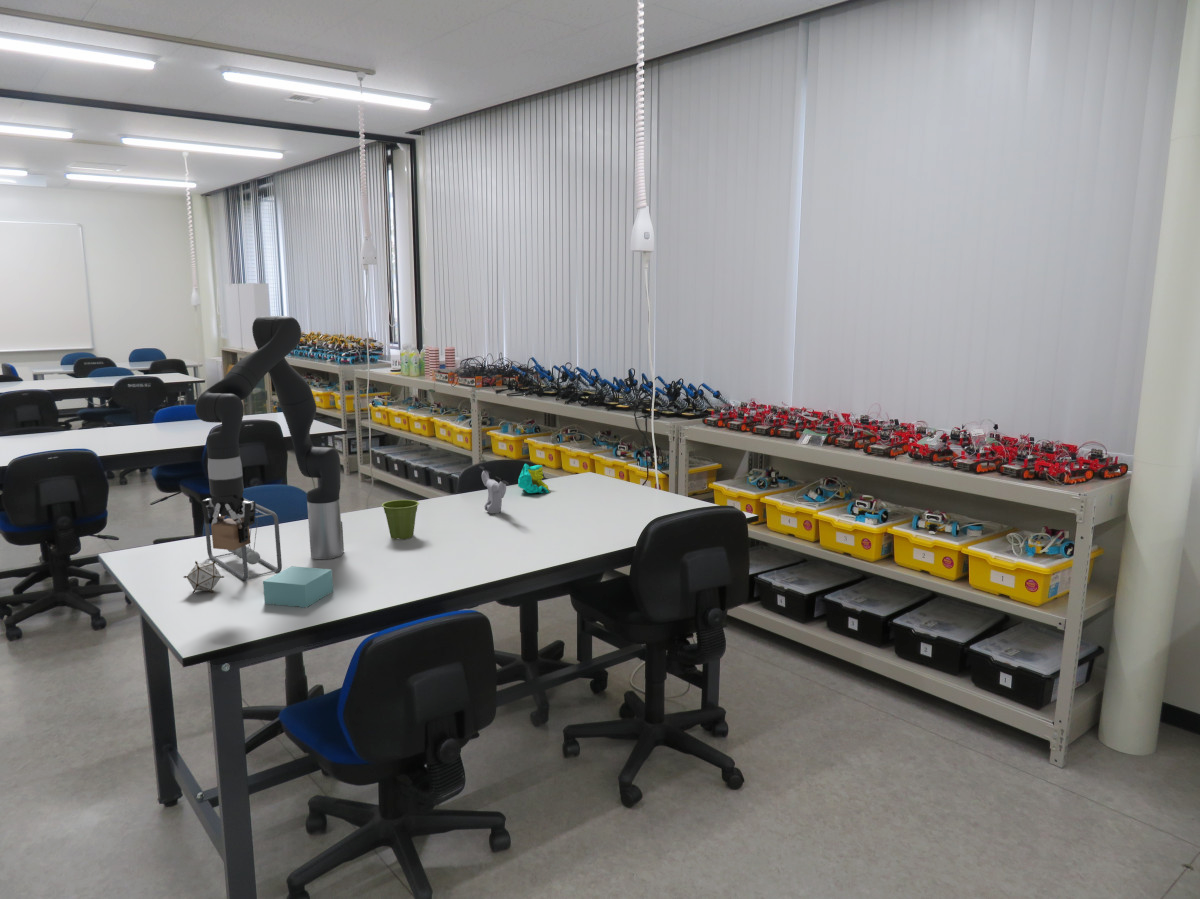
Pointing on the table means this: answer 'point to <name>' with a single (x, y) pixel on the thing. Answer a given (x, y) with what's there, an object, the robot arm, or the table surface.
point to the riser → (298, 586)
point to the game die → (204, 576)
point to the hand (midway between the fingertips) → (231, 541)
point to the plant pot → (401, 517)
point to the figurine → (493, 492)
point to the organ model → (532, 479)
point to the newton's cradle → (247, 552)
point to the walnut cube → (227, 535)
